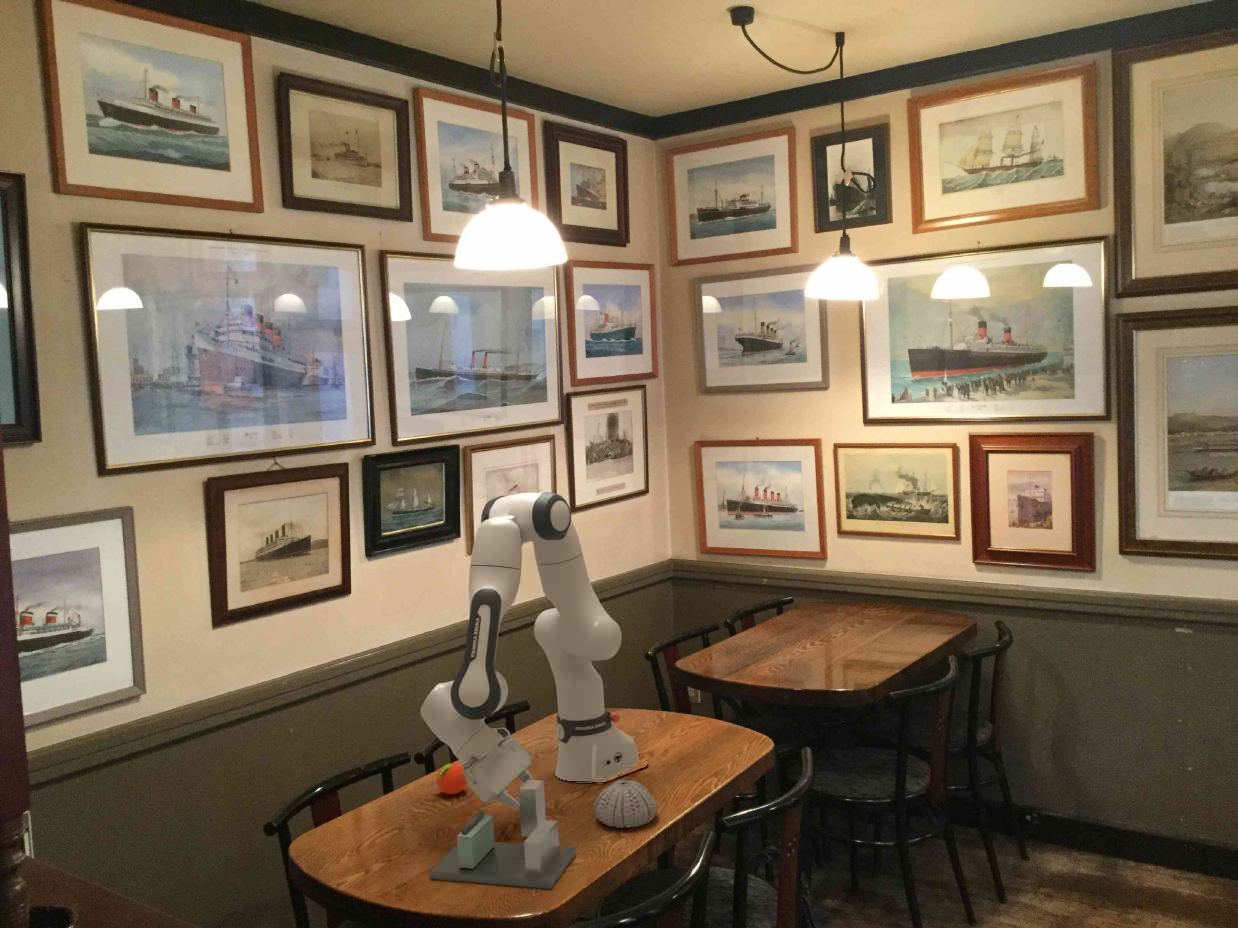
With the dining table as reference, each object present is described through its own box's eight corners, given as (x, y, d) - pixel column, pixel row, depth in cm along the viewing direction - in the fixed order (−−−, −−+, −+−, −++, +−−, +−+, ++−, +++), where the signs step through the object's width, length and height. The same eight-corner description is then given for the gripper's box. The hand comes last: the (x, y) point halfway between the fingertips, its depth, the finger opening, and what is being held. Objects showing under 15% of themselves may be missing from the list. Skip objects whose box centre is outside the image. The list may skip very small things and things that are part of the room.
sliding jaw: (458, 867, 188) (456, 829, 188) (480, 844, 198) (478, 808, 198) (473, 868, 188) (471, 830, 187) (494, 845, 197) (492, 809, 197)
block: (521, 836, 205) (518, 788, 204) (530, 826, 209) (527, 779, 209) (537, 837, 204) (534, 789, 203) (546, 827, 209) (543, 780, 208)
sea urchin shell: (617, 803, 220) (615, 767, 219) (670, 813, 212) (668, 776, 212) (582, 825, 209) (579, 788, 208) (636, 838, 201) (634, 798, 201)
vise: (430, 878, 188) (427, 839, 188) (462, 846, 201) (459, 810, 201) (550, 889, 181) (548, 848, 181) (575, 855, 195) (573, 817, 194)
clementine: (451, 802, 225) (449, 771, 225) (428, 797, 229) (426, 767, 228) (474, 790, 232) (472, 760, 231) (452, 785, 235) (450, 756, 235)
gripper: (468, 757, 198) (517, 808, 196) (508, 725, 218) (553, 771, 215) (449, 778, 200) (497, 829, 197) (491, 744, 219) (535, 790, 217)
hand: (527, 799), depth 206 cm, fingers open, 8 cm apart
